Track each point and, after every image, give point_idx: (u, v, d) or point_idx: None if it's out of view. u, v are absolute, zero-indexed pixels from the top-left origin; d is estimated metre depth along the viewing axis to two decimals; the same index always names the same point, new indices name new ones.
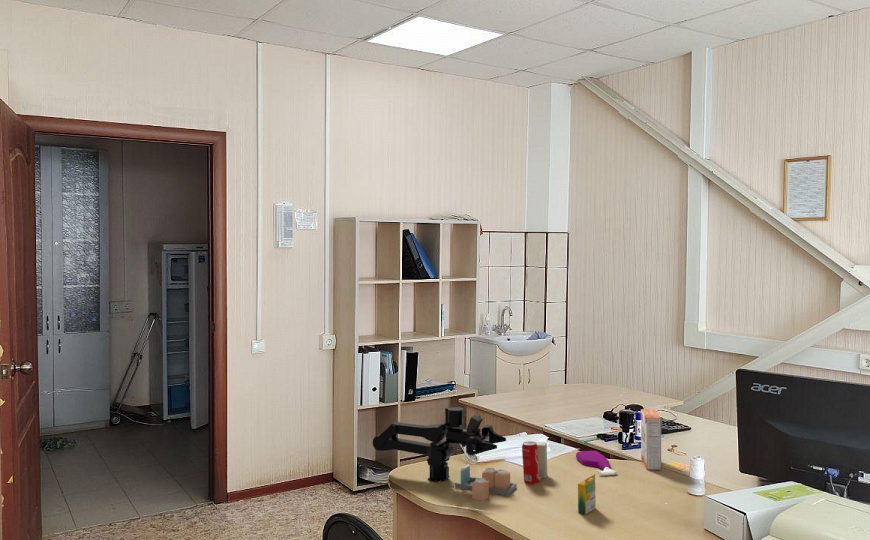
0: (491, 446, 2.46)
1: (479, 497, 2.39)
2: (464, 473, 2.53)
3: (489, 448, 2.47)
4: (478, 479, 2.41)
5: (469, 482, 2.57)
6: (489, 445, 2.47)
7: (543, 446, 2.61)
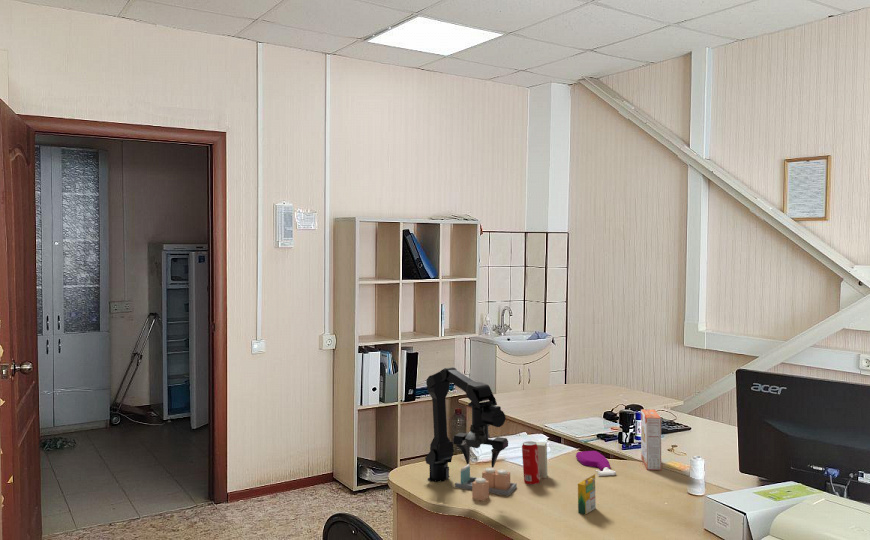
0: None
1: (479, 497, 2.39)
2: (464, 473, 2.53)
3: None
4: (478, 479, 2.41)
5: (469, 482, 2.57)
6: None
7: (543, 446, 2.61)
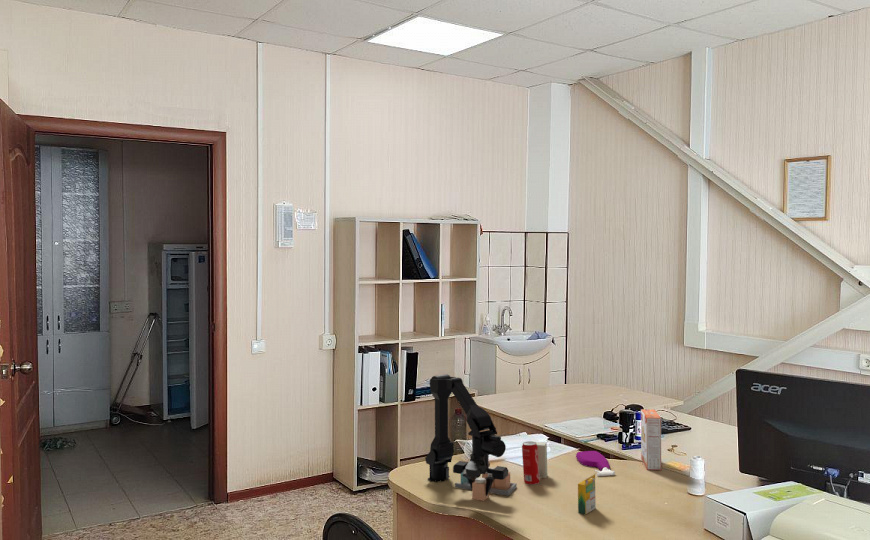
0: None
1: (479, 497, 2.39)
2: None
3: None
4: (478, 479, 2.41)
5: None
6: None
7: (543, 446, 2.61)
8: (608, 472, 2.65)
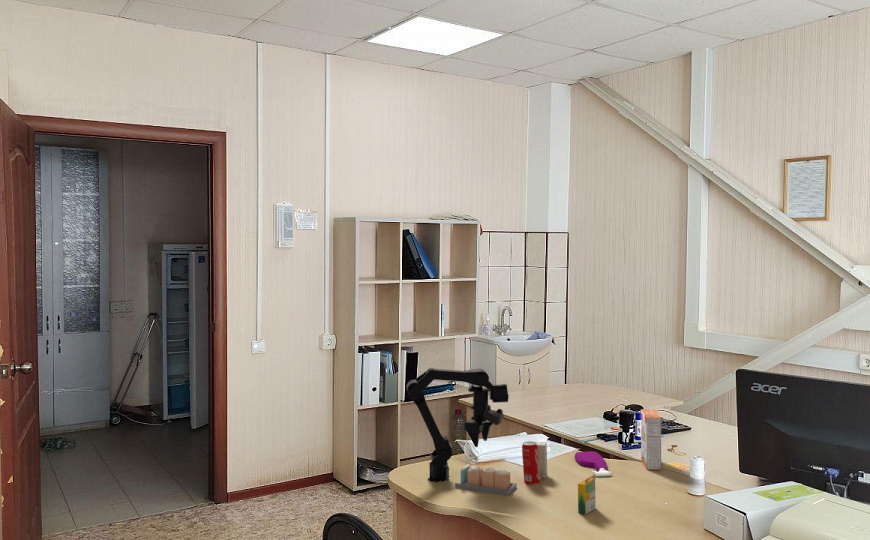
0: (475, 442, 2.58)
1: (481, 483, 2.52)
2: (464, 473, 2.53)
3: (473, 440, 2.58)
4: (475, 468, 2.52)
5: None
6: (476, 441, 2.58)
7: (543, 446, 2.61)
8: (604, 473, 2.64)
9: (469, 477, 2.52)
